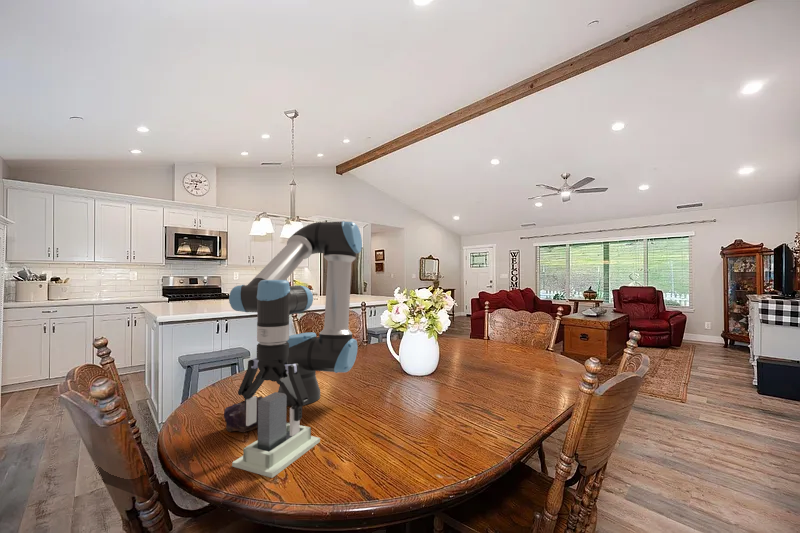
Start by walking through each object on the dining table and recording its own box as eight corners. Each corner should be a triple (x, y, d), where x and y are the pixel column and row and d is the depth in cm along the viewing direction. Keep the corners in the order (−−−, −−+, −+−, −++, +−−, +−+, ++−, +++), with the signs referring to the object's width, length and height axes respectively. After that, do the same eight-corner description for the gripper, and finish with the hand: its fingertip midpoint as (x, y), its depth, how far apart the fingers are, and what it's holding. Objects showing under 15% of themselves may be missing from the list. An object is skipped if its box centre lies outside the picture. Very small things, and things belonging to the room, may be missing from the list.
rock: (227, 430, 104) (228, 444, 95) (222, 402, 103) (222, 413, 95) (268, 416, 109) (272, 428, 100) (263, 389, 109) (268, 399, 100)
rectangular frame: (232, 466, 82) (232, 449, 82) (284, 433, 99) (284, 419, 99) (272, 478, 78) (272, 459, 78) (320, 441, 94) (320, 426, 94)
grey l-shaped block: (257, 458, 84) (258, 400, 84) (288, 438, 94) (288, 386, 94) (269, 461, 83) (269, 402, 83) (298, 440, 93) (299, 387, 93)
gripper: (223, 340, 88) (222, 425, 87) (305, 349, 78) (304, 445, 78) (246, 335, 95) (245, 414, 94) (324, 343, 85) (323, 430, 85)
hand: (272, 428), depth 86 cm, fingers open, 13 cm apart
